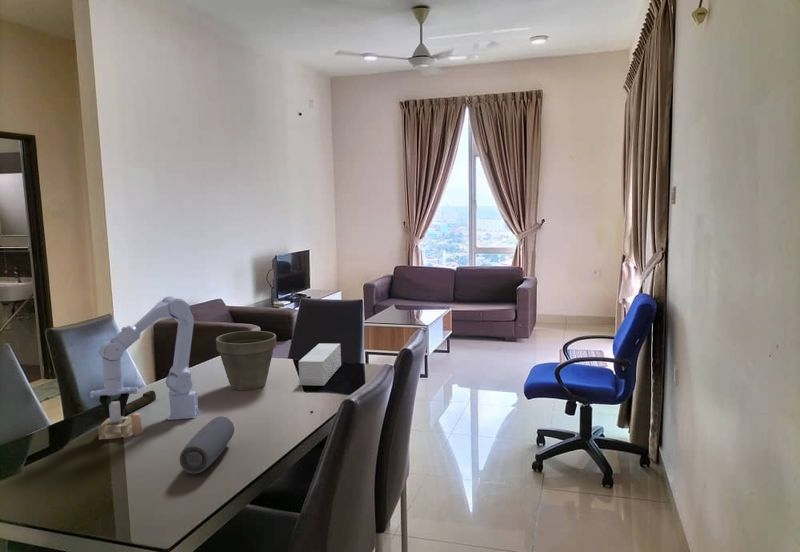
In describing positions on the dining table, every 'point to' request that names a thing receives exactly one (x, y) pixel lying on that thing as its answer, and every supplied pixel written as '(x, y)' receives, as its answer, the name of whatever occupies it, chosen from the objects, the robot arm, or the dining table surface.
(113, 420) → the square bit
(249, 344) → the plant pot
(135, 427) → the round dowel
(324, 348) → the long white block
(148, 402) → the hand tool
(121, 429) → the socket block
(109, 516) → the dining table surface
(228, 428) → the bluetooth speaker
